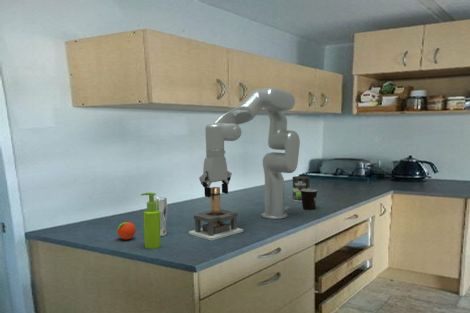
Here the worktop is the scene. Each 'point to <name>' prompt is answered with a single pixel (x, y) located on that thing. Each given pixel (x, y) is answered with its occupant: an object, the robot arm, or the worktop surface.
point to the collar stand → (209, 229)
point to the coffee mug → (308, 199)
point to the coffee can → (300, 186)
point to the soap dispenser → (151, 224)
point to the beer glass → (162, 214)
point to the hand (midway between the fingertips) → (216, 195)
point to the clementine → (126, 230)
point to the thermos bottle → (215, 204)
